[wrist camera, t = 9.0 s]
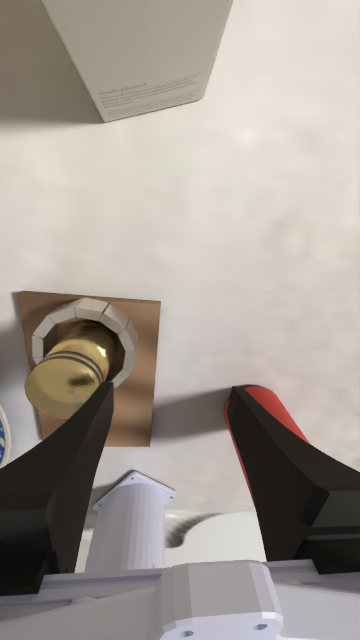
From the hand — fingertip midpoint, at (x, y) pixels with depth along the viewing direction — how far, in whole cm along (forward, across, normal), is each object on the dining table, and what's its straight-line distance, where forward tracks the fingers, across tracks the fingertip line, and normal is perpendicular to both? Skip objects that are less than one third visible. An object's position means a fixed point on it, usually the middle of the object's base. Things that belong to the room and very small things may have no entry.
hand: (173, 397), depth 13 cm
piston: (+8, +7, +1) cm, 11 cm away
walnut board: (+9, +7, +6) cm, 13 cm away
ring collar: (+9, +7, +1) cm, 12 cm away
